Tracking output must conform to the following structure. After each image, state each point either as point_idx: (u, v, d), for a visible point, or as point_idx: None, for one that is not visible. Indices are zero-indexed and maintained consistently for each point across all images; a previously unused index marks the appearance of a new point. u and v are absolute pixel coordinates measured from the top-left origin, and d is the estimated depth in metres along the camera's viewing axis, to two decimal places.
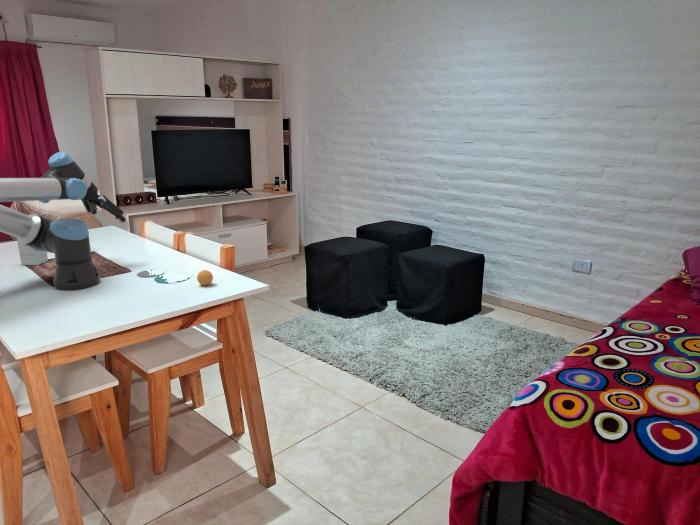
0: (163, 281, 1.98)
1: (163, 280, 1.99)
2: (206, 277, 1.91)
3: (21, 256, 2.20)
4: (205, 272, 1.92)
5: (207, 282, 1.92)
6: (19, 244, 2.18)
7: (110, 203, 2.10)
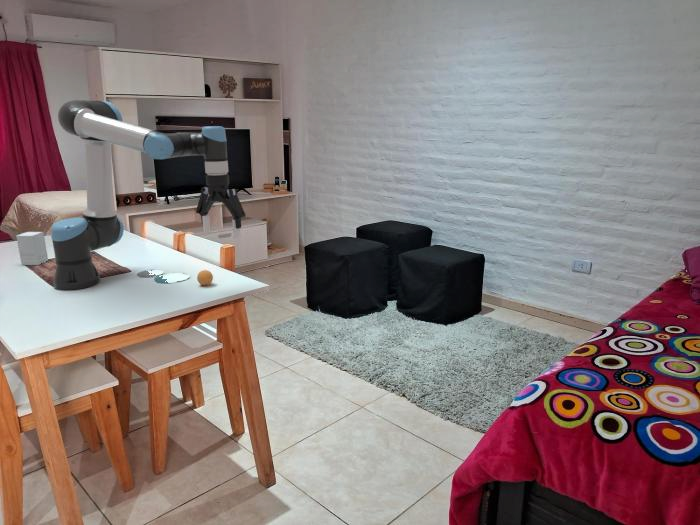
0: (163, 281, 1.98)
1: (163, 280, 1.99)
2: (206, 277, 1.91)
3: (21, 256, 2.20)
4: (205, 272, 1.92)
5: (207, 282, 1.92)
6: (19, 244, 2.18)
7: (237, 200, 1.79)
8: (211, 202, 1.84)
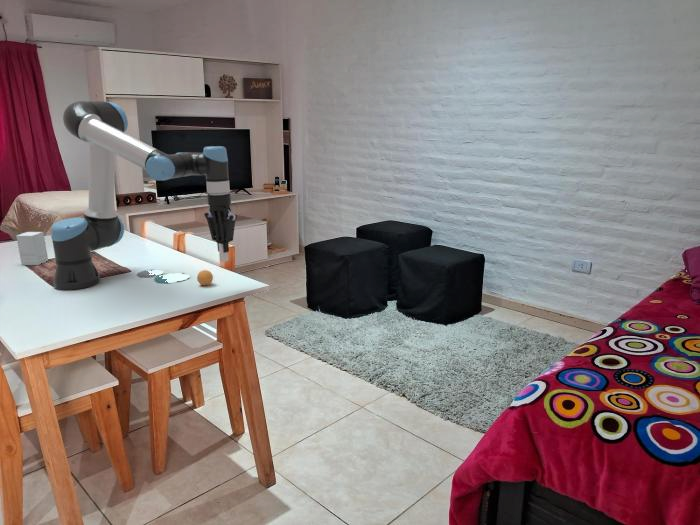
0: (163, 281, 1.98)
1: (163, 280, 1.99)
2: (206, 277, 1.91)
3: (21, 256, 2.20)
4: (205, 272, 1.92)
5: (207, 282, 1.92)
6: (19, 244, 2.18)
7: (233, 225, 1.81)
8: (219, 223, 1.83)
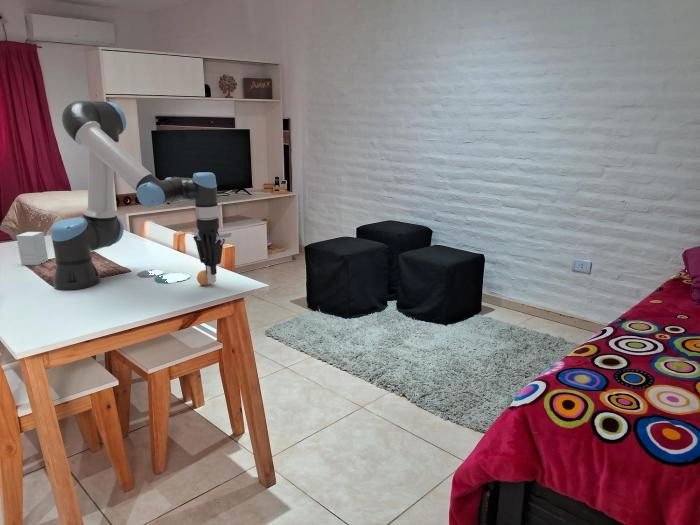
0: (163, 281, 1.98)
1: (163, 280, 1.99)
2: (206, 277, 1.91)
3: (21, 256, 2.20)
4: (205, 272, 1.92)
5: (207, 282, 1.92)
6: (19, 244, 2.18)
7: (220, 249, 1.87)
8: (207, 246, 1.89)
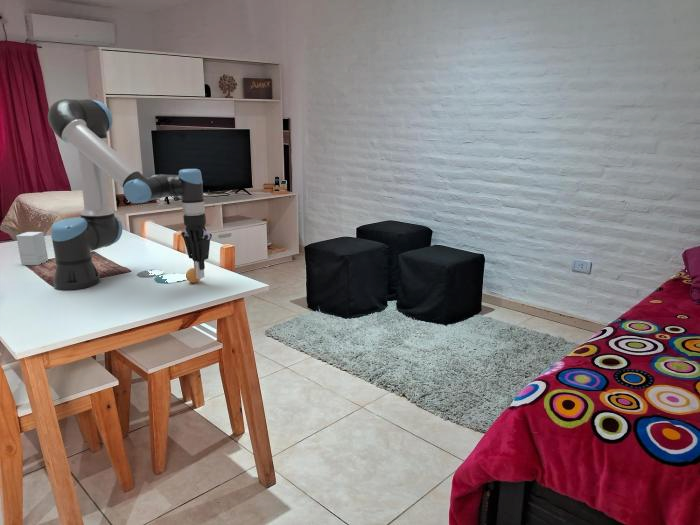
0: (163, 281, 1.98)
1: (163, 280, 1.99)
2: (191, 271, 1.94)
3: (21, 256, 2.20)
4: (189, 269, 1.95)
5: (195, 274, 1.94)
6: (19, 244, 2.18)
7: (208, 244, 1.89)
8: (195, 242, 1.91)
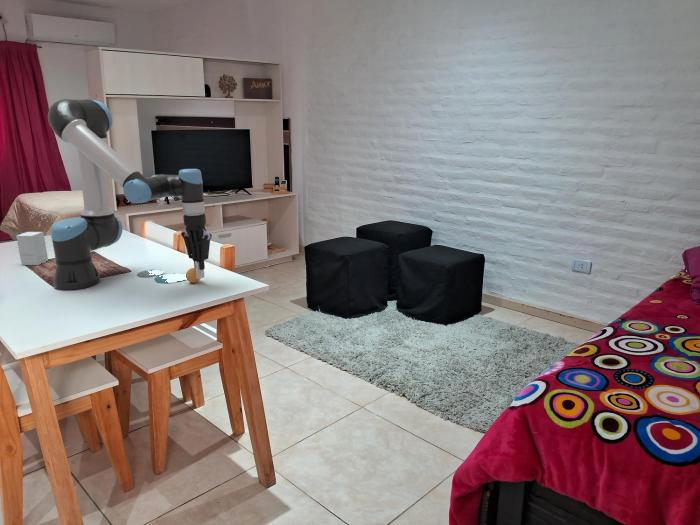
0: (163, 281, 1.98)
1: (163, 280, 1.99)
2: (191, 271, 1.94)
3: (21, 256, 2.20)
4: (189, 269, 1.95)
5: (195, 274, 1.94)
6: (19, 244, 2.18)
7: (208, 244, 1.89)
8: (195, 242, 1.91)
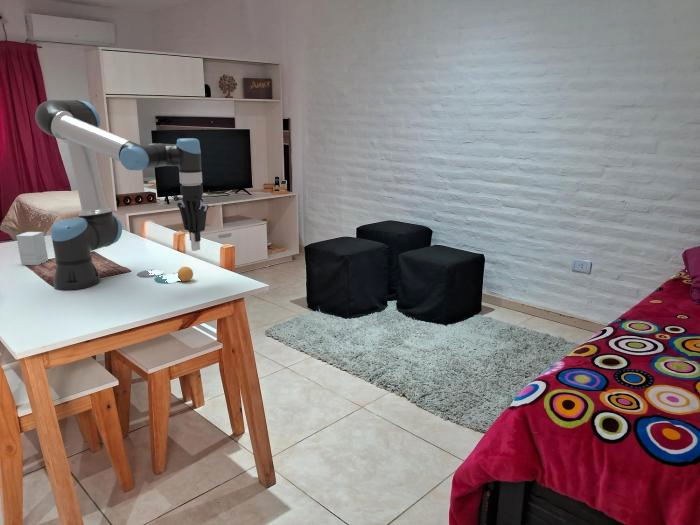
0: (163, 281, 1.98)
1: (163, 280, 1.99)
2: None
3: (21, 256, 2.20)
4: None
5: (181, 268, 1.96)
6: (19, 244, 2.18)
7: (204, 216, 1.87)
8: (191, 213, 1.89)
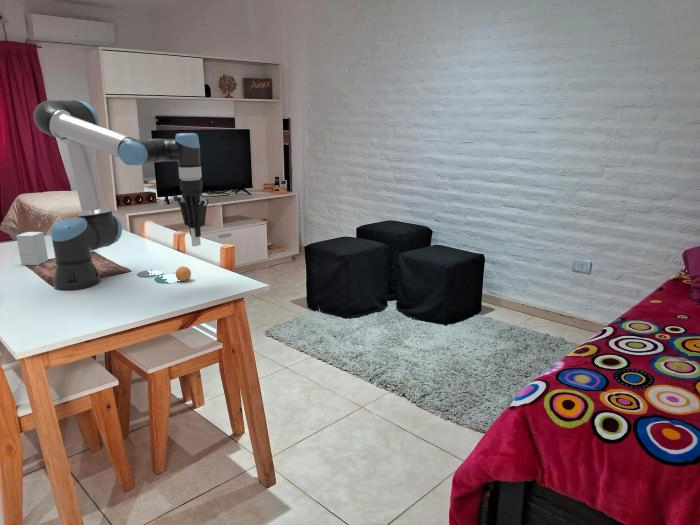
0: (163, 281, 1.98)
1: (163, 280, 1.99)
2: None
3: (21, 256, 2.20)
4: None
5: (177, 269, 1.97)
6: (19, 244, 2.18)
7: (204, 210, 1.86)
8: (191, 208, 1.88)
